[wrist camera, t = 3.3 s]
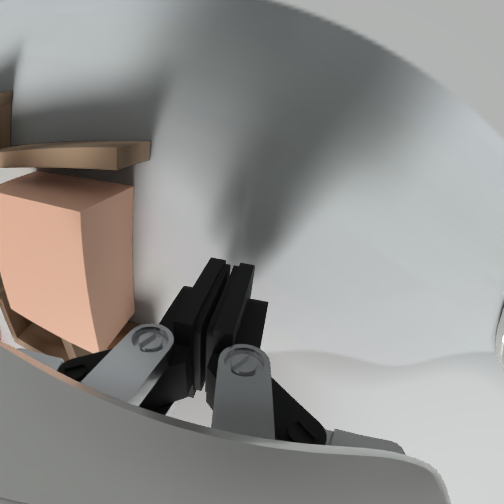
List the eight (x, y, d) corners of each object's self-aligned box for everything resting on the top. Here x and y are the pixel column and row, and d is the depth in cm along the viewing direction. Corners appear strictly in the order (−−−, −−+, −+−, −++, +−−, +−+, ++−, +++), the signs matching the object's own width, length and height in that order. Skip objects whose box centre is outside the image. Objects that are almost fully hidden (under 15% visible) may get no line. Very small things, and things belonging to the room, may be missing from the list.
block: (136, 184, 12) (80, 212, 8) (136, 309, 15) (100, 356, 11) (39, 170, 12) (-14, 189, 9) (50, 276, 15) (10, 308, 12)
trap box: (158, 60, 9) (126, 49, 7) (161, 376, 17) (147, 405, 15) (-46, 117, 11) (-67, 122, 9) (-19, 294, 19) (-34, 306, 16)
